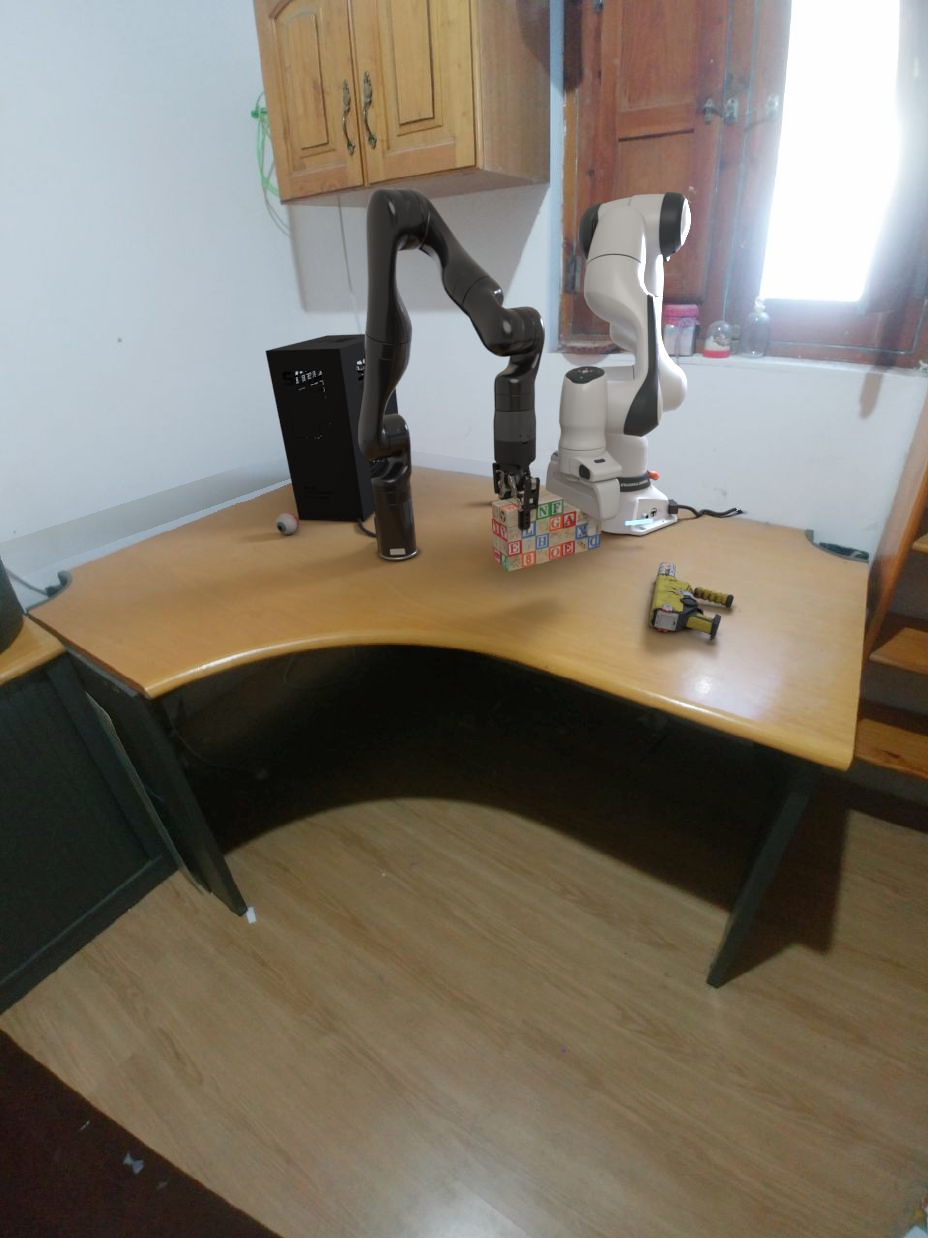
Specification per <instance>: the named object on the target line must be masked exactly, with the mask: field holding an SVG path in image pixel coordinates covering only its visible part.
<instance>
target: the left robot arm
mask: <svg viewBox="0 0 928 1238" xmlns="http://www.w3.org/2000/svg"><path fill="white" fill-rule="evenodd" d="M365 214H366V215H365V245H366V246H365V247H366V269H367V270H366V271H367V289H366V291H367V293H366V294H367V295H366V316H365V329H364V334H365V347H364V360H363V363H364V374H363V375H364V377H363V390H362V398H361V405H360V412H359V418H358V426H357V441H358V447H359V450H360V452H361V454H362V456H363V457H364V458H365V459H366V460H369V461H373V462H375V461H379V460H383V459H386V460H385V462H384V464H383V465H382V466H381V467H380V468H379V469H378V470H377V471H376V472H375V473H373V474H372V476H371V488H372V495H373V503H374V510H375V511H374V516H373V521H374V529H375V533H373V532H372V531H370V530H368V529H367V528H365V527H364V525H363V521H361V519H360V518H358V519H357V520H358V521H357V523H358V526H359V528H360V530H361V531H362V532H363V533H365V534H367V535H368V536H370V537H373V538H375V539H376V544H377V545H376V546H377V551H378V553H379V557H380V558H381V559H383V560H386V561H392V562H394V561H395V562H396V561H397V562H398V561H399V562H400V561H407V560H409V559H411V558H414V557H415V556H416V555H417V554H418V552H419V551H418V545H417V535H416V524H415V523H416V522H415V513H414V512H415V511H414V503H413V493H412V483H411V478H412V472H413V464H412V444H411V443H412V442H411V435H410V429H409V425H408V424H407V422H406V419H405V418H404V417H403V416H402V415H401V414H399V413H398V414H396V413H393V414H387V415H384V414H385V409H386V406H387V403H388V400H389V398H390V396H391V394H392V393H393V391H394V389H395V388H396V389H397V386H398V385H399V383H400V382H401V380H402V378H403V376H404V375H405V373H406V370H407V369H408V366H409V364H410V359H411V350H412V341H413V324H412V320H411V317H410V315H409V313H408V310H407V307H406V305H405V304H404V303H405V302H404V301H403V299H402V296H401V293H400V291H399V288H398V283H397V264H398V263H397V261H398V253H399V252H403V251H414V250H418V251H420V252H421V253H424V255H426V256H427V257H429V258H430V259H431V260H432V261H433V262H434V263H435V264H436V267H437V271H438V275H439V280H440V283H441V287H442V289H443V290H444V292H445V294H446V296H448V298H449V299H450V300H451V301H452V303H453V304H455V306H456V307H457V308H458V309H459V310H460V311H461V312H462V313H463V314H464V315H465V316H466V317H467V318H468V319H469V321H470V323H471V325H472V327H473V329H474V331H475V332H476V334H477V337H478V338H479V340H480V342H481V344H482V346H483V347H484V348H485V349H486V350H487V351H488V352H489V353H491V354H492V355H494V356H496V357H499V358H508V357H509V359H508V362H507V366H506V368H504V369H503V370H502V371H500V372H499V373H497V374H496V375H495V377H494V381H493V401H494V402H493V403H494V405H493V406H494V409H493V412H494V413H493V421H492V422H493V423H492V427H493V429H492V430H493V459H494V462H492V464H491V466H492V479H493V480H492V481H493V491H494V494H495V495H498V496H497V497H498V499H499V501H501V500H507V499H511V497H512V496H513V498H514V499H515V500H516V501H517V505H518V509H519V511H518V528H519V529H520V530H526V529H529V528H530V512H531V510H533V509H538V502H539V492H540V488H541V486H540V485H541V478H540V477H539V476H537V477H536V476H535V477H534V476H532V473H531V469H530V466H531V464H532V463H533V462H535V460H536V459H537V416H536V379H537V376H538V372H539V370H540V366H541V360H542V356H543V352H544V346H545V341H546V330H545V329H546V327H545V323H544V319H543V318H542V315H541V313H540V312H539V311H538V310H537V309H536V308H535V307H533V306H528V305H527V306H526V305H525V306H517V307H508V308H506V307H504V306H503V305H504V300H505V294H504V291H503V289H502V287H501V285H500V284H499V283H498V282H497V281H496V280H495V278H493V277H492V276H491V275H490V274H489V272H487V271H486V270H485V269H484V268H483V267H482V266H481V265H480V264H479V263H478V262H477V261H476V260H475V259H474V258H473V257H472V256H471V255H470V254H469V253H468V252H467V250H466V249H465V248H464V247H463V245H462V244H461V242H460V240H458V238H457V237H456V235H455V233H453V231H452V230H451V228H450V227H449V225H448V224H447V222H446V221H445V219H444V218H443V216H442V215H441V213H439V211H438V209H437V208H436V207H435V205H434V204H433V203H432V201H431V200H430V199H429V197H428V196H427V195H426V194H425V193H424V192H422V191H421V190H419V189H417V188H411V187H409V188H408V187H406V188H405V187H380V188H377V189H375V190H374V191H373V192H372V193H371V195H370V196H369V199H368V202H367V206H366V213H365ZM518 492H521V493H520V494H519V493H518ZM522 498H524V500H523V503H522ZM532 498H533V503H532Z"/></svg>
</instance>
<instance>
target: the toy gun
mask: <svg viewBox="0 0 928 1238" xmlns="http://www.w3.org/2000/svg"><path fill="white" fill-rule="evenodd" d="M658 566H659V567H658V571H657V575H656V578H655V583H654V588H653V594H652V600H651V606H650V611H649V612H650V614H649V618H648V623H649V625H650V626H651V627H653V628H657V631H659V632H661V631H662V632H664V633H667V632H668V631H672V632H677V631H678V632H679V631H682V630H684V629H685V628H689V629H693V630H696V631H700V632H703V633H705V634H707V635H710V640H715V638H716V636H717V634H718V630H719V627H720V623H721V621H722V620H721V619H722V615H720V614H718V613H716V614H715V615H714V617H710V616H708V615H705V614H704V613H705V612H704V610H703V609H702V608H700V607H699V604H698V603H699V602H698V600H699V599H701V600H703V601H708V603H714V604H715V605H719V604H720V605H721V606H724V607H726V608H731V607H732V605H733V602H734V599H735V596H734V595H733V594H728V593H722V592H721V591H718V592H717V591H716V590H715V589H714V590H710V589H708V588H703V587H702V586H697V587H695V588H694V589H693V587H692V585H691V584H690V583H689V582H686V581H682V580H679V579H677V578H675V577H676V568H677V565H676V564H675V563H671V562H670V563H669V565H667V562H665V561H662V562H660V563H659V565H658ZM667 567H668V568H667ZM697 599H698V600H697Z"/></svg>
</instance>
